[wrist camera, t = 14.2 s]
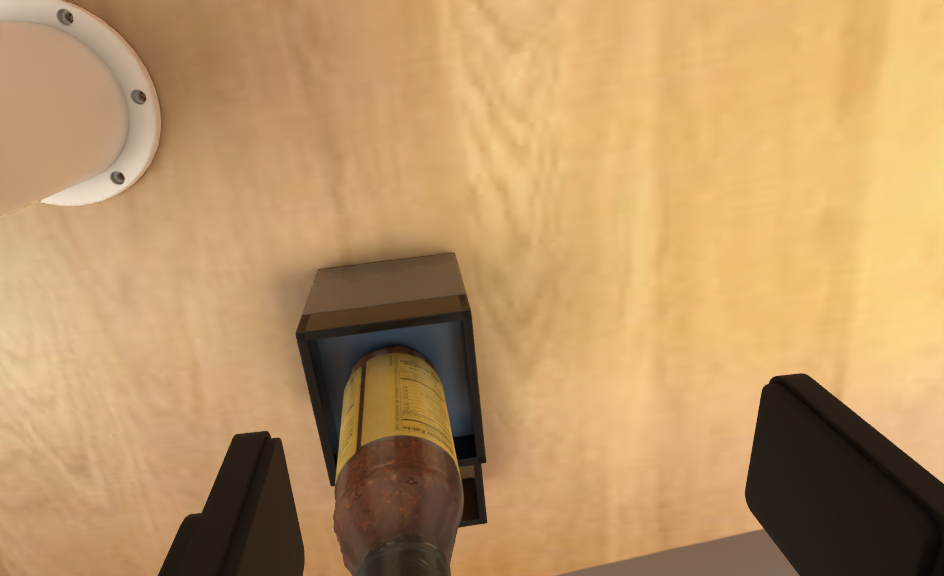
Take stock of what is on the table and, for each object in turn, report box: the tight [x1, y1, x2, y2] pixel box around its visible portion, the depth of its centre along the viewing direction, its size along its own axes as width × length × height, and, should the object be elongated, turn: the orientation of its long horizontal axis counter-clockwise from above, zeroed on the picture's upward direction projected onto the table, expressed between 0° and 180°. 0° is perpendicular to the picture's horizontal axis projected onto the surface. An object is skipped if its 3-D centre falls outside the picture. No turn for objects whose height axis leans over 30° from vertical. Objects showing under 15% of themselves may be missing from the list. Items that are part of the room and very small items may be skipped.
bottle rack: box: [296, 253, 487, 528], centre depth 43 cm, size 10×22×10 cm, turn 5°
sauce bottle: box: [333, 346, 464, 576], centre depth 29 cm, size 7×6×20 cm
